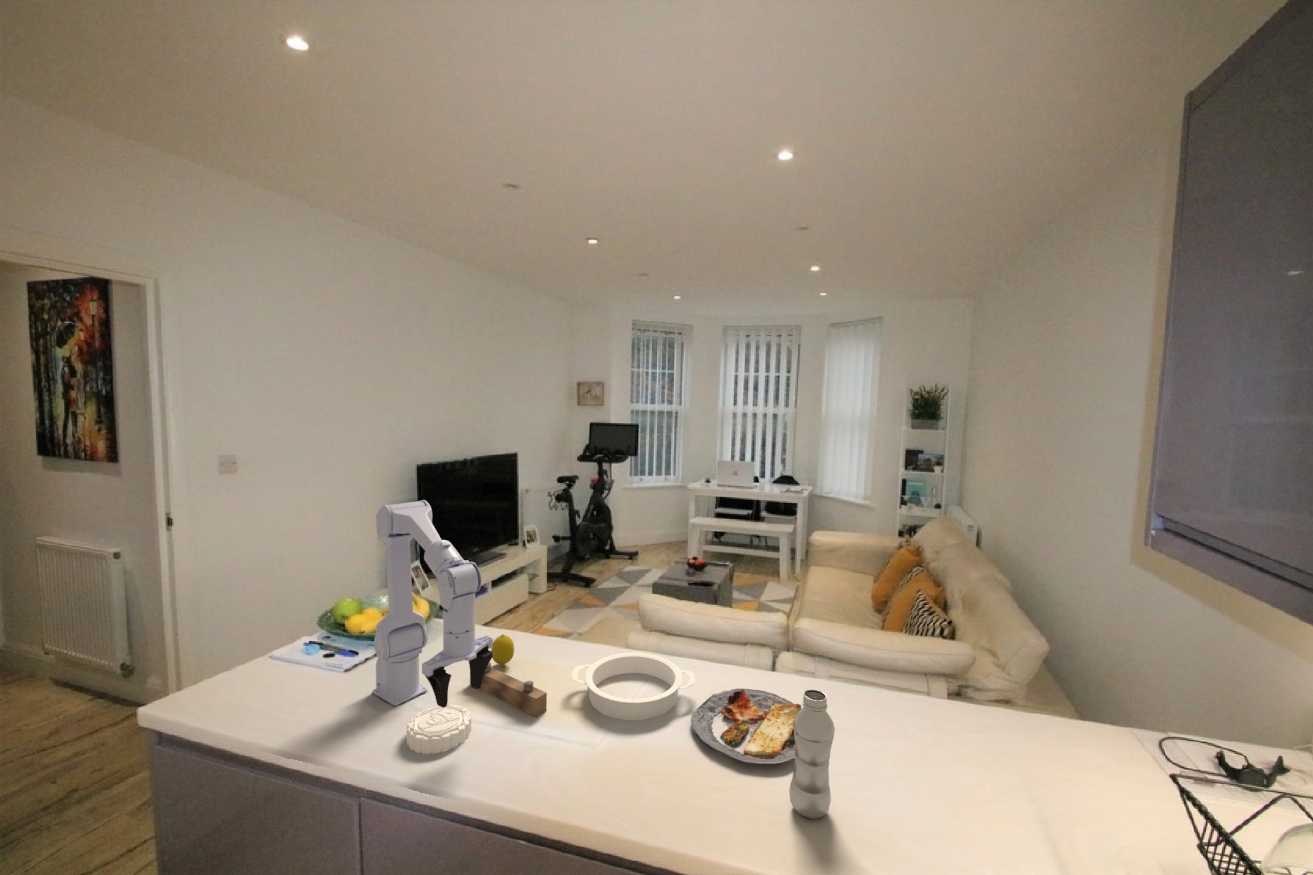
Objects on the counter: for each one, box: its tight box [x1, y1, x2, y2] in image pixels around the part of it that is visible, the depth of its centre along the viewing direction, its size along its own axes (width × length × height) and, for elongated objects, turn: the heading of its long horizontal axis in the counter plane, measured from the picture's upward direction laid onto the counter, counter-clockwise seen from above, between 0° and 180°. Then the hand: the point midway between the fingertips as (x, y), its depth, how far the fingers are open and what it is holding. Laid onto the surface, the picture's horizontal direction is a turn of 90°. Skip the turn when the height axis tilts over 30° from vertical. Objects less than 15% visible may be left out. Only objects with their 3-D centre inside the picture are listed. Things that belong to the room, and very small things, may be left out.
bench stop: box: [469, 662, 548, 718], centre depth 123 cm, size 22×3×6 cm, turn 56°
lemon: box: [490, 634, 515, 667], centre depth 137 cm, size 6×6×8 cm
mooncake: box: [406, 703, 472, 755], centre depth 109 cm, size 12×12×4 cm
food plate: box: [690, 688, 802, 765], centre depth 113 cm, size 25×23×4 cm
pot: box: [570, 652, 696, 721], centre depth 125 cm, size 29×22×5 cm
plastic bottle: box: [788, 688, 836, 820], centre depth 90 cm, size 6×7×20 cm
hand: (459, 696), depth 105 cm, fingers open, 7 cm apart
